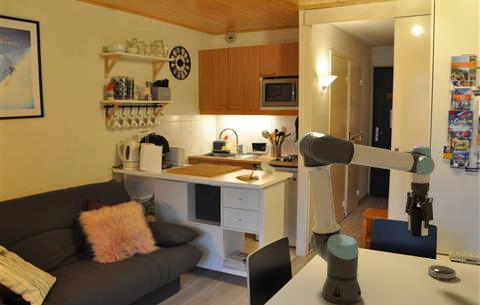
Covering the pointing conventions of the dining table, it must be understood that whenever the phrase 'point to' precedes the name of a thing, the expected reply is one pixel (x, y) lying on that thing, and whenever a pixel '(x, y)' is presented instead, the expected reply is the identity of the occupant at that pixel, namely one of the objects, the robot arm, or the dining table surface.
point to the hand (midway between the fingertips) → (417, 232)
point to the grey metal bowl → (441, 272)
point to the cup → (416, 221)
